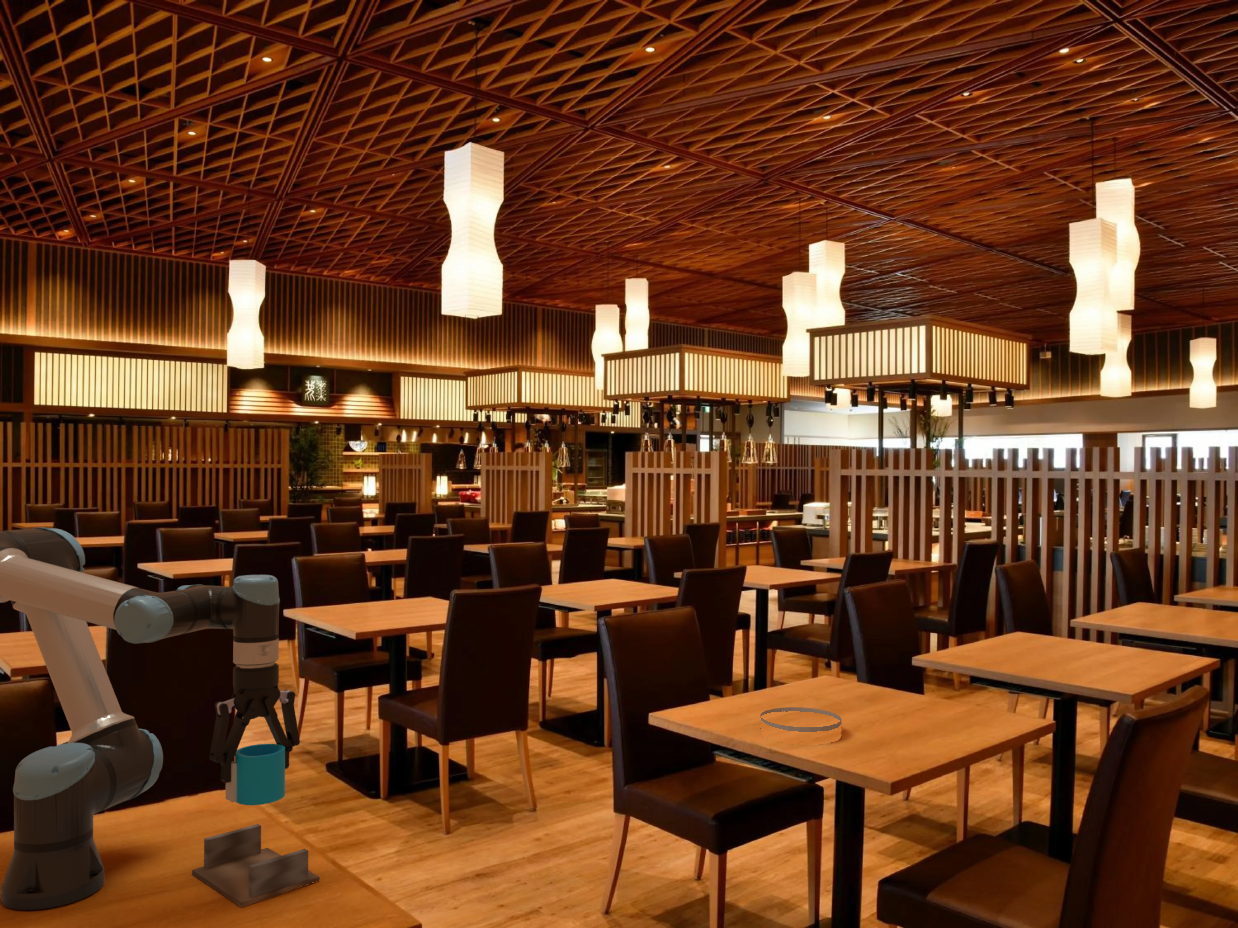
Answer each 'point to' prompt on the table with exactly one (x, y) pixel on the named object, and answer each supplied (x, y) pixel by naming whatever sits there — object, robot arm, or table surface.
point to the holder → (251, 867)
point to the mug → (260, 774)
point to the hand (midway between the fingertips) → (255, 793)
